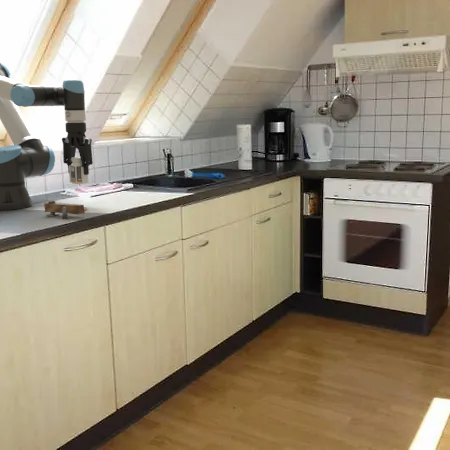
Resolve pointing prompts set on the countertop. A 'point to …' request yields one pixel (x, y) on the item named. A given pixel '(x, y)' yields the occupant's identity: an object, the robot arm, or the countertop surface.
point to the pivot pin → (53, 214)
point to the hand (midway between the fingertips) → (79, 182)
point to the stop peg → (64, 212)
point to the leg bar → (57, 207)
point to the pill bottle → (76, 170)
